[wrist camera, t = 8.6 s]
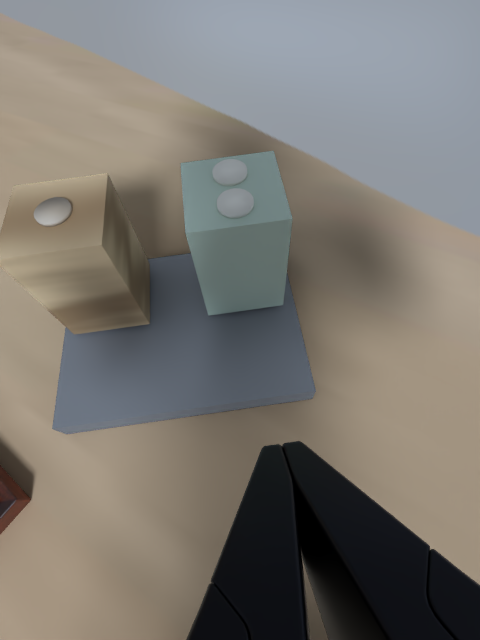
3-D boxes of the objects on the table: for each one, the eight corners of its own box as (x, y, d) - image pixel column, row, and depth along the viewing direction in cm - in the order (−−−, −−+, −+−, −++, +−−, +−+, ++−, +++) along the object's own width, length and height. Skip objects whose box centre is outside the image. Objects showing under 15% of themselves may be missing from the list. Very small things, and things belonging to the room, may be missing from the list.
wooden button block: (149, 323, 20) (99, 241, 14) (74, 334, 20) (-11, 256, 14) (149, 264, 22) (106, 169, 16) (81, 273, 22) (10, 182, 16)
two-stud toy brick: (283, 305, 20) (292, 215, 14) (208, 315, 20) (184, 230, 14) (270, 247, 23) (273, 146, 16) (202, 256, 23) (179, 159, 16)
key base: (312, 398, 19) (315, 391, 18) (66, 434, 19) (52, 428, 18) (278, 255, 25) (279, 240, 23) (83, 282, 24) (73, 269, 23)
